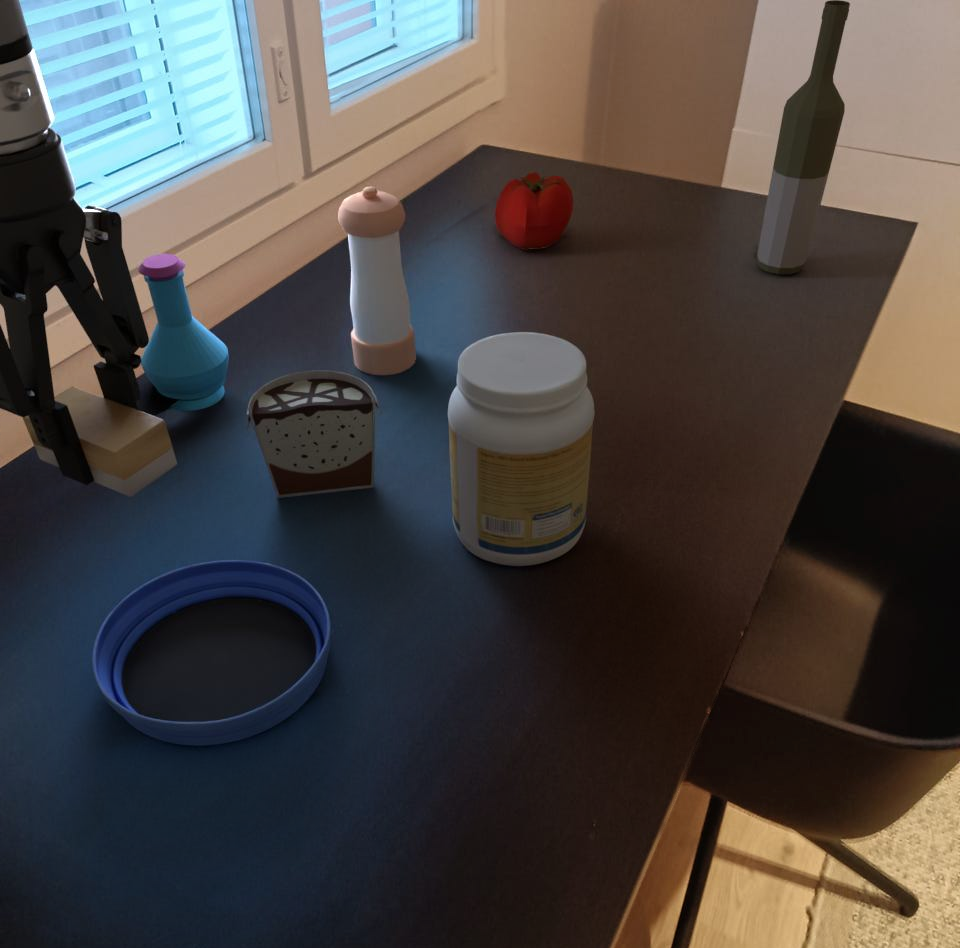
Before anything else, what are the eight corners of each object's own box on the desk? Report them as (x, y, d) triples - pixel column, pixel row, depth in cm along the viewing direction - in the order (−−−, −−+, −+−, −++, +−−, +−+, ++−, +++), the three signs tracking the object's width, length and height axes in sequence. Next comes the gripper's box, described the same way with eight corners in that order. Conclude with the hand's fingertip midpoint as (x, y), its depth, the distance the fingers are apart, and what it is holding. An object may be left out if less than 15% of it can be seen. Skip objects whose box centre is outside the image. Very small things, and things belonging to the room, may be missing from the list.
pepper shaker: (347, 350, 110) (327, 180, 96) (407, 340, 111) (394, 171, 98) (361, 380, 105) (341, 205, 91) (423, 369, 107) (412, 195, 93)
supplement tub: (611, 528, 86) (631, 360, 74) (521, 591, 79) (526, 419, 68) (515, 475, 92) (518, 311, 80) (425, 530, 86) (414, 362, 74)
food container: (383, 451, 95) (374, 361, 88) (389, 485, 91) (380, 394, 84) (261, 463, 94) (242, 373, 86) (261, 499, 89) (241, 408, 82)
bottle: (766, 281, 122) (824, 11, 101) (743, 260, 127) (794, -2, 105) (815, 275, 123) (882, 7, 102) (791, 254, 128) (850, -6, 107)
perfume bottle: (160, 424, 99) (120, 287, 88) (145, 384, 105) (106, 252, 94) (245, 405, 101) (216, 270, 91) (225, 367, 107) (196, 236, 97)
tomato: (575, 231, 134) (579, 167, 128) (562, 262, 127) (566, 196, 121) (504, 225, 136) (504, 162, 130) (487, 255, 129) (487, 190, 123)
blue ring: (95, 774, 66) (80, 743, 64) (113, 606, 79) (100, 575, 76) (346, 732, 69) (341, 701, 66) (325, 576, 81) (319, 545, 79)
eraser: (39, 459, 73) (21, 415, 70) (88, 429, 76) (72, 385, 73) (130, 497, 69) (114, 452, 67) (177, 464, 72) (164, 419, 70)
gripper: (-100, 195, 49) (48, 537, 66) (146, 105, 60) (220, 418, 77) (-184, 171, 52) (-22, 504, 69) (66, 89, 63) (154, 394, 79)
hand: (106, 458), depth 73 cm, fingers closed on eraser, 5 cm apart
